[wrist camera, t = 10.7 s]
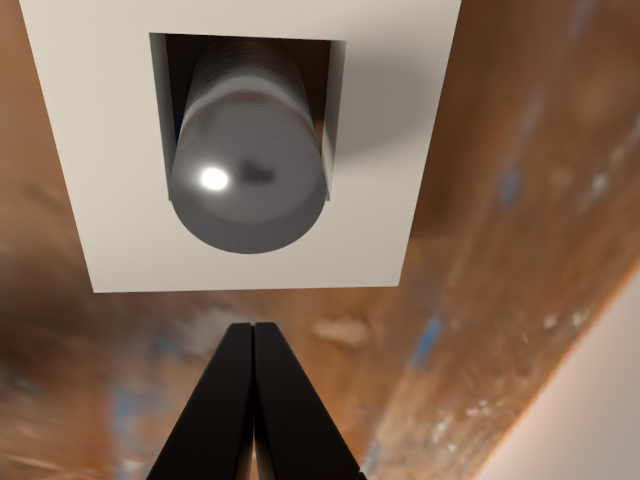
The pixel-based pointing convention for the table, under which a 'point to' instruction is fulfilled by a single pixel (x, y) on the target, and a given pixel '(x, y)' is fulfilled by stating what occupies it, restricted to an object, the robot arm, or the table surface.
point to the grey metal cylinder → (247, 150)
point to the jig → (160, 142)
